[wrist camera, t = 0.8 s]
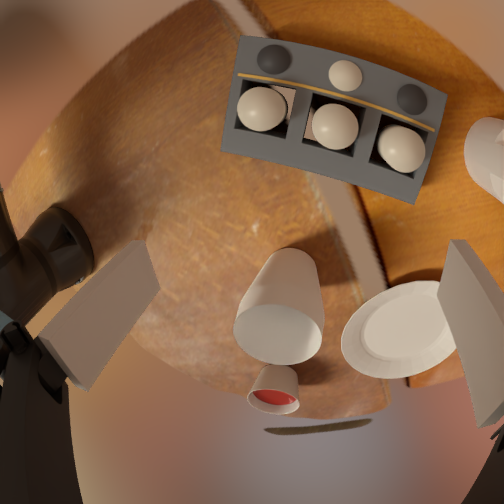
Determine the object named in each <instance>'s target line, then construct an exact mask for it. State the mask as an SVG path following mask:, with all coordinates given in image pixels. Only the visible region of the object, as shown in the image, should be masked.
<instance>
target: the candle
mask: <svg viewBox="0 0 504 504" xmlns="http://www.w3.org/2000/svg"><path fill="white" fill-rule="evenodd" d="M247 400H248V402H249V403H250V404H251V405H252V406H253V407H254V408H256V409H258V410H260V411H263V412H267V413H271V414H288V413H292V412H294V411H296V410H297V409H298V408H299V387H298V376H297V373H296V372H295V371H294V370H293V369H292V368H290V367H288V366H285V365H275V364H271V365H267V366H265V367H263V368H262V370H261V371H260V373H259V375H258V377H257V378H256V380H255V382H254V384H253V386H252V388H251V390H250V392H249V394H248V396H247Z"/></svg>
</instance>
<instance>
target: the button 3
mask: <svg viewBox="0 0 504 504" xmlns="http://www.w3.org/2000/svg"><path fill="white" fill-rule="evenodd" d="M376 148H377V151H378V153H379V154H380V156H381V157H382V158H383V159H384V160H385V161H386V162H387V163H388V164H389V165H390V166H391V167H392V168H394V169H395V170H397V171H399V172H405V173H407V172H412V171H414V170H416V169H417V168H419V167H420V165H421V164H422V162H423V160H424V158H425V145H424V142H423V140H422V139H421V137H420V136H419V135H418V134H417V133H416V132H414V131H413V130H410V129H408V128H405V127H402V126H399V125H395V124H391V125H387V126H385V127H383V128H382V129H381V130H380V131H379V133H378V135H377V137H376Z"/></svg>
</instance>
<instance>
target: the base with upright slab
mask: <svg viewBox="0 0 504 504" xmlns="http://www.w3.org/2000/svg"><path fill="white" fill-rule="evenodd" d="M464 158H465V164H466V167H467V170H468V172H469V174H470V176H471V177H472V179H473V180H474V181H475V182H476V183H477V184H478V185H479V186H480V187H482V188H483V189H485V190H486V191H487V192H489V193H490V194H491V195H493V196H494V197H495V198H497V199H498V200H499V201H501V202H502V203H503V204H504V120H501V119H497V118H493V117H484V118H481V119H479V120H478V121H476V122H475V123H474V124H473V125H472V126H471V128H470V130H469V132H468V134H467V136H466V140H465V144H464Z"/></svg>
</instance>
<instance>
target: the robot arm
mask: <svg viewBox="0 0 504 504" xmlns="http://www.w3.org/2000/svg"><path fill="white" fill-rule="evenodd" d="M93 264H94V259H93V252H92V248H91V245H90V243H89V240H88V238H87V236H86V234H85V232H84V230H83V229H82V227H81V226H80V224H79V223H78V222H77V221H76V220H75V218H74V217H73V216H72V215H70V214H69V213H68V212H67V211H65V210H63V209H61V208H58V207H51V208H49V209H47V210H46V211H44V212H42V213H41V214H40V215H39V216H38V217H37V218H36V220H35V221H34V223H33V224H32V225H31V226H30V228H29V229H28V230H27V232H26V233H25V235H24V236H23V237H22V238H21V239H20V240H17V237H16V234H15V232H14V228H13V225H12V222H11V219H10V216H9V213H8V209H7V206H6V202H5V199H4V195H3V188H2V187H1V184H0V377H1V378H2V379H3V381H4V382H3V387H2V386H1V385H0V504H83V502H82V497H81V493H80V488H79V483H78V478H77V473H76V467H75V460H74V454H73V446H72V438H71V427H70V415H69V395H68V394H69V393H68V385H67V384H66V382H65V379H66V378H67V377H69V379H70V380H71V381H72V383H73V384H74V385H75V386H76V387H79V388H81V389H83V390H85V391H87V392H88V391H89V390H90V388H91V387H92V385H93V384H94V382H95V381H96V379H97V377H98V376H99V375H100V373H101V372H102V370H103V369H104V367H105V366H106V364H107V363H108V361H109V360H110V358H111V357H112V356H113V354H114V353H115V351H116V350H117V348H118V347H119V345H120V344H121V342H122V341H123V340H124V338H125V337H126V335H127V334H128V333H129V331H130V330H131V328H132V327H133V326H134V324H135V323H136V321H137V320H138V319H139V317H140V316H141V315H142V313H143V312H144V310H145V309H146V308H147V306H148V305H149V304H150V302H151V301H152V300H153V298H154V297H155V296H156V294H157V293H158V292H159V290H160V286H159V283H158V280H157V277H156V274H155V271H154V268H153V265H152V262H151V259H150V256H149V253H148V250H147V247H146V244H145V240H132V241H131V242H130V243H128V244H127V245H126V246H125V247H124V248H123V249H122V250H121V251H120V252H119V253H118V254H116V255H115V256H114V257H113V258H112V259H111V260H110V261H109V262H108V263H107V264H106V265H105V266H104V267H103V268H102V269H101V270H99V271H98V272H97V273H96V274H95V275H94V276H93V277H92V278H91V279H90V280H89V281H88V282H87V283H86V284H85V285H84V286H83V287H82V288H81V289H80V290H79V291H78V292H77V293H76V294H75V295H74V296H73V297H72V298H71V299H70V301H69V302H68V303H67V304H66V305H65V306H64V307H63V308H62V309H61V310H60V311H59V312H58V313H57V314H56V316H55V317H54V318H53V319H52V320H51V321H50V322H49V323H48V324H47V325H46V326H45V327H44V329H43V330H42V331H41V332H40V333H39V334H38V336H37V337H36V338H35V339H34V340H33V338H32V337H31V335H30V334H29V332H28V331H27V329H26V327H25V326H26V325H27V324H28V323H29V321H30V320H31V319H32V318H33V317H34V316H35V315H36V314H37V313H38V312H39V311H40V310H41V309H42V307H44V306H45V304H46V303H47V302H48V301H49V300H50V299H51V298H52V297H53V296H54V295H55V294H56V293H58V292H59V291H62V290H64V289H67V288H69V287H71V286H73V285H76V284H79V283H81V282H82V281H83V280H84V279H85V278H87V277H88V276H89V275H90V273H91V272H92V269H93ZM437 298H438V300H439V302H440V305H441V307H442V310H443V312H444V315H445V317H446V320H447V323H448V325H449V328H450V331H451V333H452V336H453V339H454V342H455V345H456V348H457V351H458V354H459V357H460V360H461V363H462V367H463V370H464V373H465V377H466V380H467V384H468V388H469V392H470V396H471V400H472V404H473V409H474V413H475V417H476V423H477V428H482V427H485V426H488V425H492V424H495V423H496V422H497V421H498V420H499V419H500V418H501V417H502V416H503V415H504V294H503V292H502V290H501V289H500V287H499V286H498V284H497V283H496V281H495V280H494V278H493V277H492V275H491V274H490V272H489V271H488V270H487V268H486V267H485V265H484V264H483V263H482V261H481V260H480V259H479V257H478V256H477V254H476V253H475V252H474V250H473V249H472V248H471V247H470V245H469V244H468V243H467V241H466V240H453V239H450V243H449V247H448V252H447V257H446V261H445V265H444V269H443V273H442V277H441V281H440V284H439V288H438V291H437ZM498 434H499V435H498ZM497 435H498V438H497V440H496V441H495V444H494V447H493V449H492V451H491V453H490V455H489V457H488V459H487V461H486V463H485V465H484V467H483V469H482V470H481V472H480V474H479V476H478V477H477V479H476V481H475V483H474V484H473V486H472V488H471V489H470V491H469V493H468V494H467V496H466V497H465V499H464V500H463V502H462V503H461V504H504V424H503V425H502V426H501V427H500V428H499V429H498V430H497V431H496V432H495V433H494V434H493V435H492V437H491V438H490V439H492V440H493V439H494V438H495V437H496V436H497Z"/></svg>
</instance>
